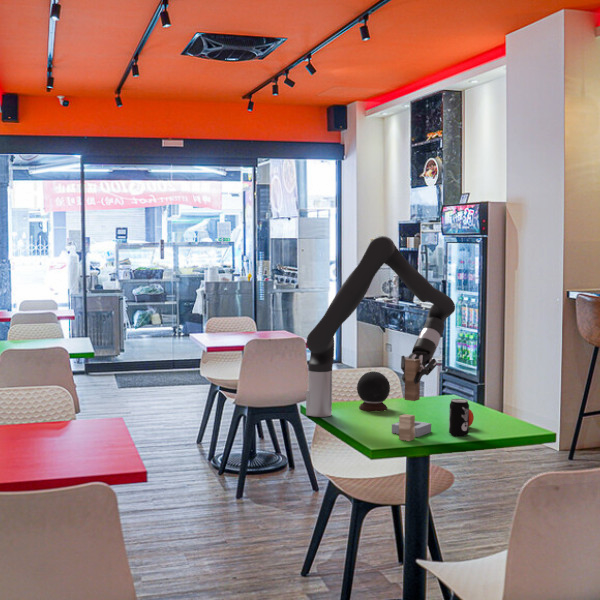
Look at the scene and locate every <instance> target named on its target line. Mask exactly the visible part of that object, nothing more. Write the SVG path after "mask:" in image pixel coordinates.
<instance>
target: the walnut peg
mask: <svg viewBox="0 0 600 600" xmlns="http://www.w3.org/2000/svg"><path fill="white" fill-rule="evenodd" d="M419 365H420V359H406V360H405V383H404V400H405V401H410V402H416V401H420V394H421V392H420V390H421V389H420V388H421V381H420V382H419V383H418V384H415V383H414V378H415V376H416V374H417V372H418V369H419Z"/></svg>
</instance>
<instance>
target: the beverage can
mask: <svg viewBox="0 0 600 600" xmlns="http://www.w3.org/2000/svg"><path fill="white" fill-rule="evenodd" d="M469 409H470V403H469V400H468V399H464V398H452V399H450V402H449V410H448V411H449V416H448V417H449V419H448V433H449V435H451V436H454V437H467V435H468V434H469V430H470V429H469V428H470V426H469Z"/></svg>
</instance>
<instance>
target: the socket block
mask: <svg viewBox="0 0 600 600" xmlns="http://www.w3.org/2000/svg"><path fill="white" fill-rule="evenodd" d="M395 433H396V435H399V421H398V422H395V423H392V424H391V434H395ZM430 433H432V423H430V422H424V421H423V422H422V421H417V420H415V436H414V438H419V437H422V436H424V435H426V434H430Z"/></svg>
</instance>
